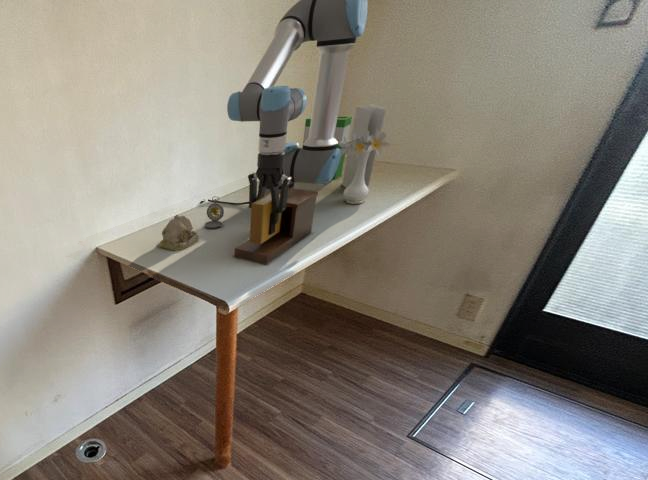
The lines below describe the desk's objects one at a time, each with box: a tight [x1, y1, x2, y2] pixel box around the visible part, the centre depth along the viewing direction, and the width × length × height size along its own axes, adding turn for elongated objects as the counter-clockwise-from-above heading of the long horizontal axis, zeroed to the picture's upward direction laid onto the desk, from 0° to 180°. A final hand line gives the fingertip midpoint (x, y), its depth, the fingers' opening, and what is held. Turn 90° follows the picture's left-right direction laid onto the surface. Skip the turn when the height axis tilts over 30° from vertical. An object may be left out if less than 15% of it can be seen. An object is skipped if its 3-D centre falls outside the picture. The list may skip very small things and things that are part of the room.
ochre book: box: [249, 193, 282, 244], centre depth 131 cm, size 4×12×12 cm, turn 137°
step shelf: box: [234, 188, 319, 266], centre depth 137 cm, size 13×30×14 cm, turn 137°
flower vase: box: [338, 130, 390, 205], centre depth 159 cm, size 13×18×25 cm
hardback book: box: [301, 115, 353, 180], centre depth 191 cm, size 18×7×24 cm, turn 50°
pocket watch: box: [204, 196, 225, 229], centre depth 158 cm, size 8×8×10 cm
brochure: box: [341, 103, 387, 189], centre depth 170 cm, size 14×6×30 cm, turn 179°
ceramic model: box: [158, 214, 199, 251], centre depth 147 cm, size 14×11×10 cm
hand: (265, 231), depth 134 cm, fingers closed on ochre book, 4 cm apart
